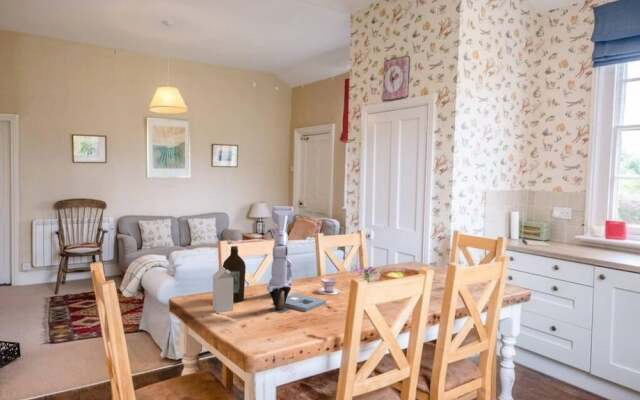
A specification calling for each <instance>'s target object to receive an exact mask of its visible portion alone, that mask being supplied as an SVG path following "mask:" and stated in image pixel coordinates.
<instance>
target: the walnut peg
mask: <svg viewBox="0 0 640 400" xmlns="http://www.w3.org/2000/svg"><path fill="white" fill-rule="evenodd" d="M278 291H281V294H280V298H279V306H274V307H275V310H277V311H282V310H284V307H285V306H284V290H278Z"/></svg>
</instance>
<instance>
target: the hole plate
mask: <svg viewBox="0 0 640 400" xmlns="http://www.w3.org/2000/svg"><path fill="white" fill-rule="evenodd" d="M324 305H327V299H322V298H317V297H313V296H309V295H304V294H300V293H293V294H292V293H291V294H290V295H288V296H287V299H286V303H285V304H284V307H287V308H291V309H292V310H293V309H294V310H297V311H300V312H301V311H302V312H306V313H307V312H309V311H311V310H314V309H317V308H319V307H321V306H324Z"/></svg>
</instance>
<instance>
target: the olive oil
mask: <svg viewBox="0 0 640 400" xmlns="http://www.w3.org/2000/svg"><path fill="white" fill-rule="evenodd" d="M238 248H239V246H237V245H232V246H230V255H228V257H227V258H226V259H225V260H224V261H223V264H222V267H224V268H225V269H226V270H229V271H230V272H231V273H230V274H229V275H231V276H232V277H233V303H239V302H243V300H245V285H246V283H245V282H246V269H247V268H246V267H247V266H246V263H245V260H243V258H242V257H241V256H240V255H239V249H238ZM226 270H225V271H226Z"/></svg>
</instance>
